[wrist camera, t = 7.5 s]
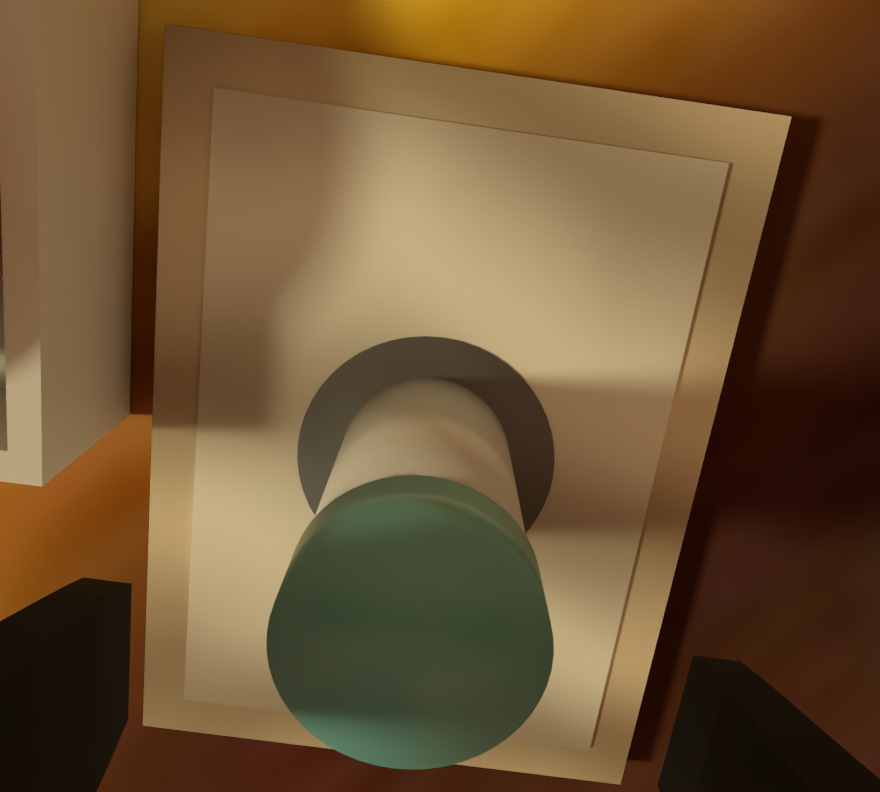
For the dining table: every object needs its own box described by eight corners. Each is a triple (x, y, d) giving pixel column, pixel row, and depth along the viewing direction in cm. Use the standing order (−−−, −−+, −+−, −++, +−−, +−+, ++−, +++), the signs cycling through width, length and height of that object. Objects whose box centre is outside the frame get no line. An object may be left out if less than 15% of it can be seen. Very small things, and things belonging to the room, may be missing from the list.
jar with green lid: (498, 546, 18) (527, 784, 11) (330, 523, 18) (256, 751, 11) (526, 385, 17) (579, 543, 10) (347, 361, 16) (277, 502, 10)
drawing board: (613, 761, 21) (621, 789, 20) (154, 704, 20) (140, 729, 19) (775, 117, 16) (794, 116, 15) (178, 30, 15) (162, 22, 15)
